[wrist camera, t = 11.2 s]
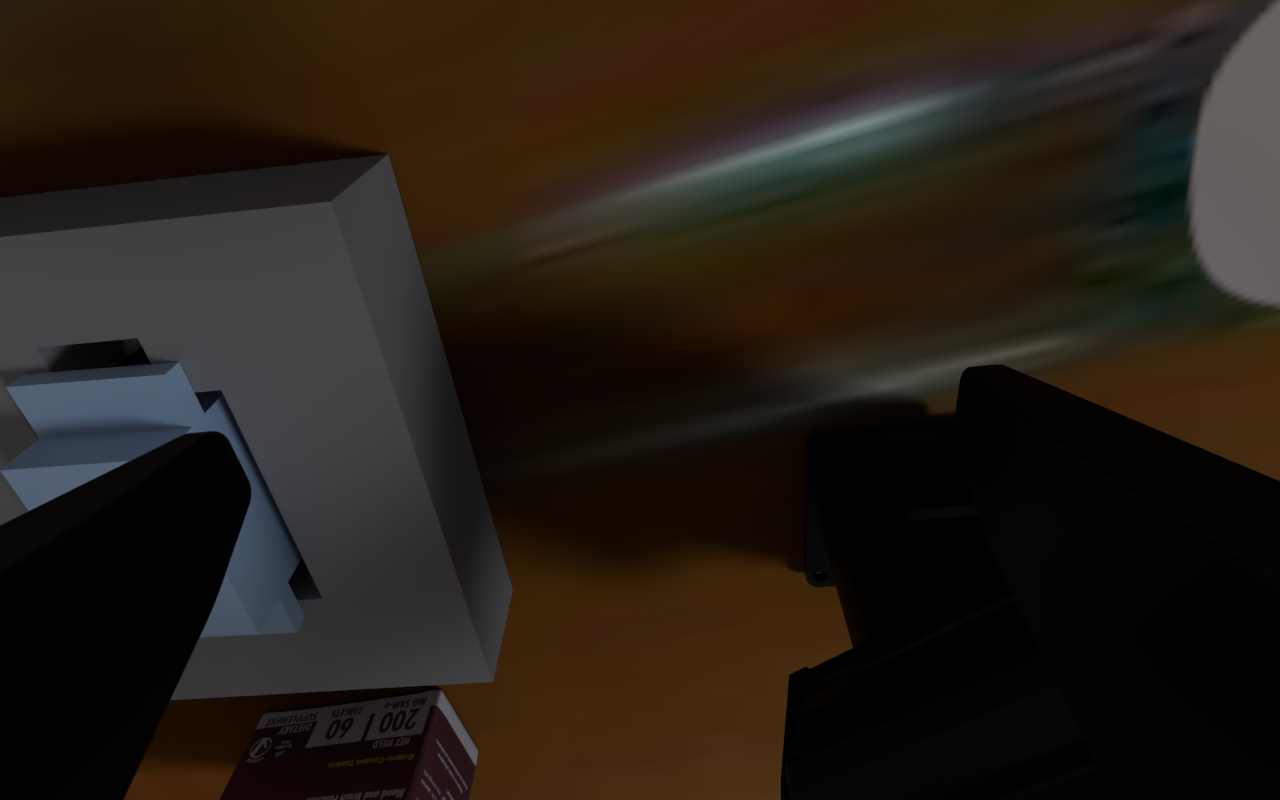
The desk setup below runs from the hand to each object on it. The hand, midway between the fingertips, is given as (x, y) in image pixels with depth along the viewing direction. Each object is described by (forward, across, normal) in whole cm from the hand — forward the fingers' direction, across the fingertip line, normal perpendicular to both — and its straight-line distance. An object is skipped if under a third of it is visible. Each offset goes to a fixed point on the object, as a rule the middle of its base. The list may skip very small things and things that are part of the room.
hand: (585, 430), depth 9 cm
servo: (+12, +13, +7) cm, 19 cm away
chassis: (+12, +13, +7) cm, 19 cm away
